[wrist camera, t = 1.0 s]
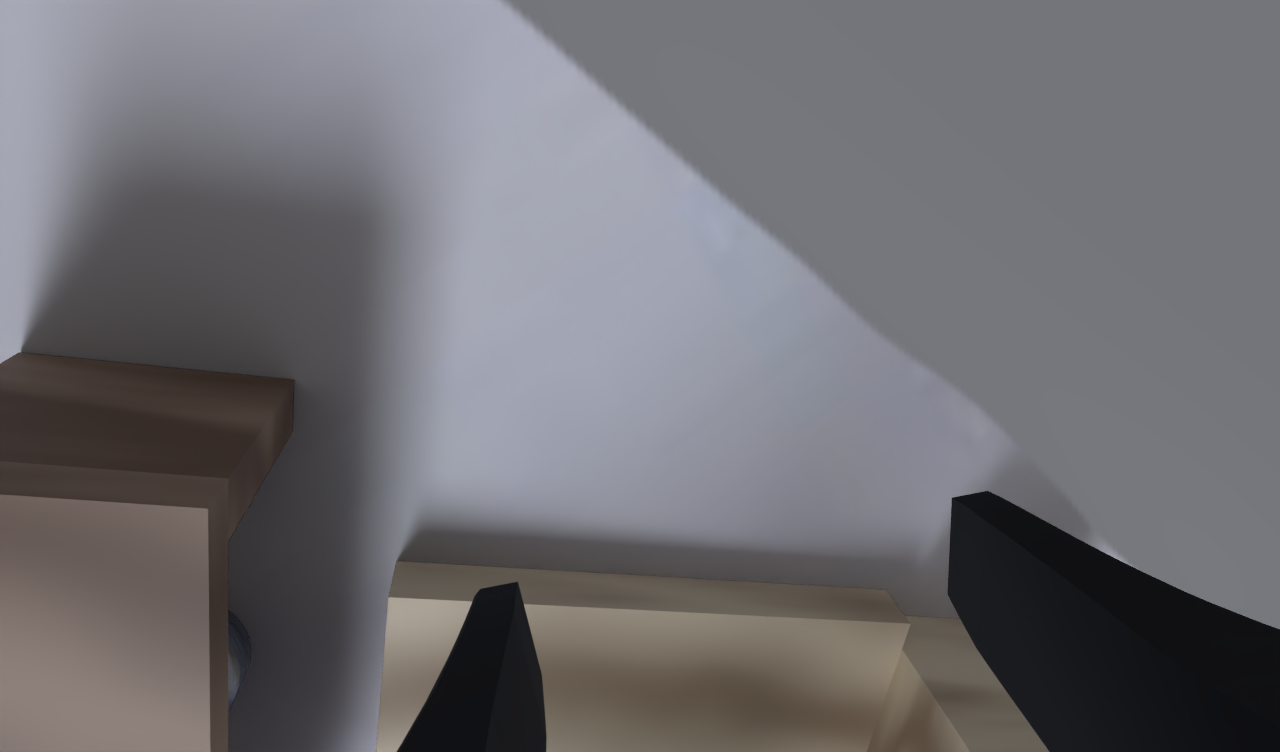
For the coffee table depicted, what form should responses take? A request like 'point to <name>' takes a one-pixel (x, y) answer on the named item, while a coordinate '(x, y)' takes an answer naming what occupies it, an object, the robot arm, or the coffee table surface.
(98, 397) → the walnut shelf
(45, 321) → the coffee table surface
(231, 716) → the coffee table surface
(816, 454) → the coffee table surface
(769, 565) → the coffee table surface
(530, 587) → the oak l-shaped block
